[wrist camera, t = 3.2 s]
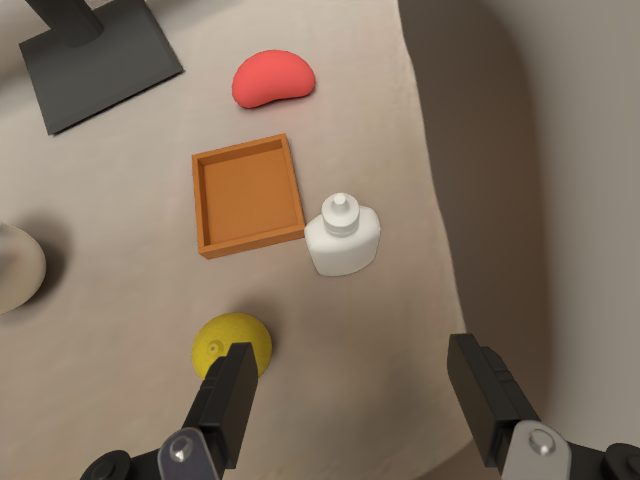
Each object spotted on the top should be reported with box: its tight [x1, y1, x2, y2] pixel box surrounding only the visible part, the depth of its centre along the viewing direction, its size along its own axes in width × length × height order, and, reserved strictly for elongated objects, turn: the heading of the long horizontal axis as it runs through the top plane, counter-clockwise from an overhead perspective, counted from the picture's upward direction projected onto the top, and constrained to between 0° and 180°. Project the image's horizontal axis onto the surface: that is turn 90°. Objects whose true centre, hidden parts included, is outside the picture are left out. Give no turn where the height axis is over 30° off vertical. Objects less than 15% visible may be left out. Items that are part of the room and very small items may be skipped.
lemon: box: [192, 313, 272, 380], centre depth 24 cm, size 6×6×8 cm
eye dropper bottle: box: [304, 193, 381, 276], centre depth 24 cm, size 4×6×12 cm
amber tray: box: [192, 133, 306, 259], centre depth 32 cm, size 11×10×2 cm
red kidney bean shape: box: [232, 50, 315, 108], centre depth 35 cm, size 5×9×6 cm
